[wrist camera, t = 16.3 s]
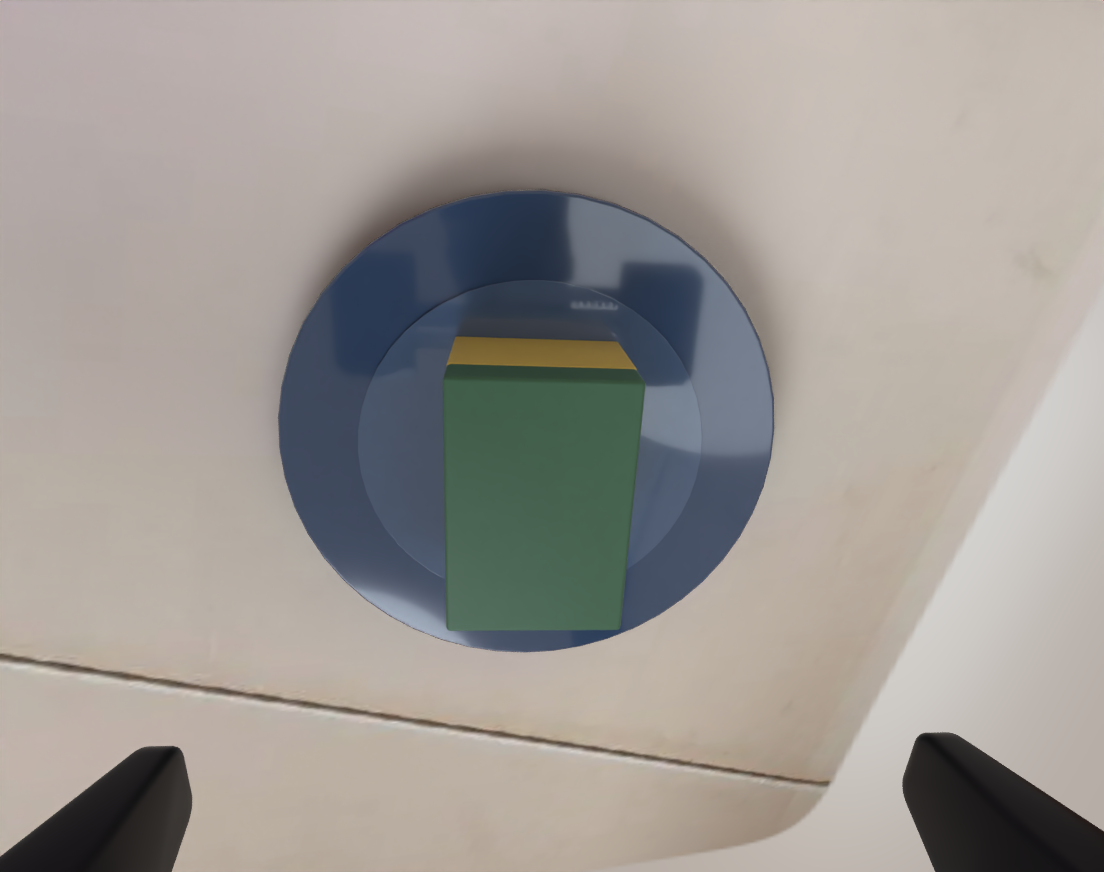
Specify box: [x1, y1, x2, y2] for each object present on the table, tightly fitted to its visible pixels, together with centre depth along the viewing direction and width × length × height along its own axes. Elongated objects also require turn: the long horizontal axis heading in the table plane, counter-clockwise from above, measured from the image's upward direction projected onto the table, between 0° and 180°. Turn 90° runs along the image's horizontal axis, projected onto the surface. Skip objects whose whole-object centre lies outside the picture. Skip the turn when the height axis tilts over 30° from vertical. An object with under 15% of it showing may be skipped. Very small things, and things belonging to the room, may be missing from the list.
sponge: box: [443, 337, 646, 631], centre depth 15 cm, size 6×4×4 cm, turn 177°
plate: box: [278, 189, 774, 652], centre depth 18 cm, size 13×13×1 cm
